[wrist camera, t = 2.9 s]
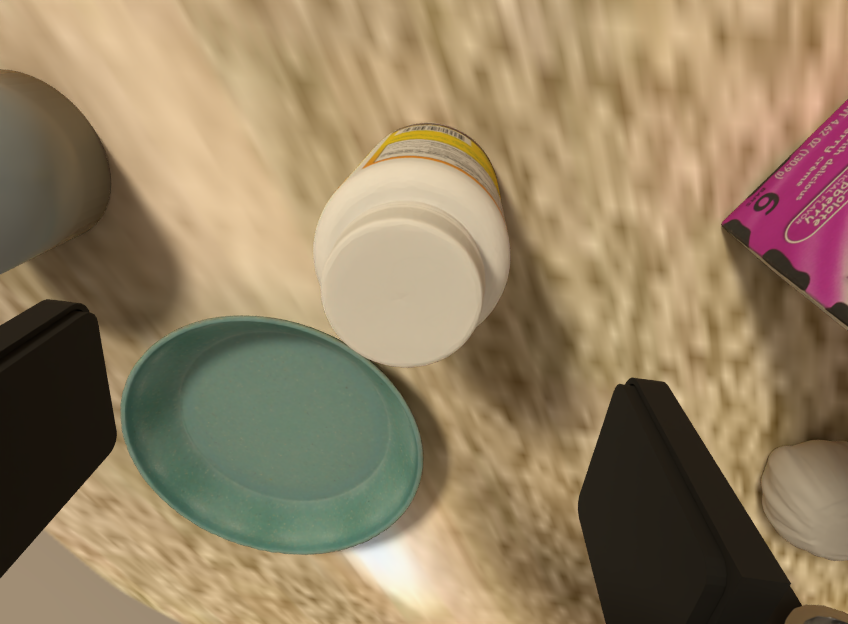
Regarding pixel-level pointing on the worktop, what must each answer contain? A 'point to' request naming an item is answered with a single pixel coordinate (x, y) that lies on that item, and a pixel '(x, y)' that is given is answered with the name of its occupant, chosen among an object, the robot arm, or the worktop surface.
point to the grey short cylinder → (45, 170)
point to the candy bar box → (805, 218)
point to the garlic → (809, 496)
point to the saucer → (271, 435)
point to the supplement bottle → (413, 247)
